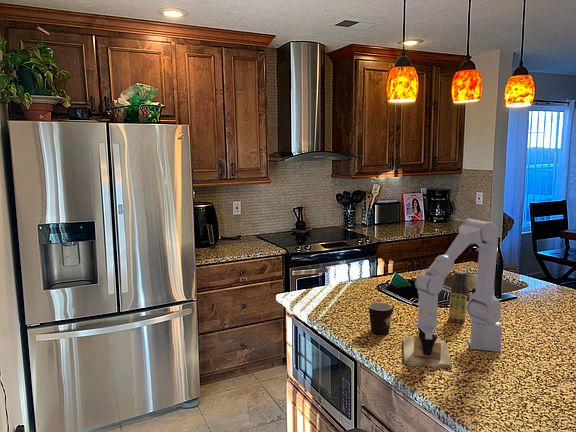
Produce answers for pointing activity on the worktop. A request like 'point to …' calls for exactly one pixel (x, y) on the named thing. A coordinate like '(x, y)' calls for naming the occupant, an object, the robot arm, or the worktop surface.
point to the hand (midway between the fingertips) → (426, 351)
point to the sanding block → (419, 351)
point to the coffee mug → (380, 318)
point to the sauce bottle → (458, 298)
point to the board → (410, 359)
